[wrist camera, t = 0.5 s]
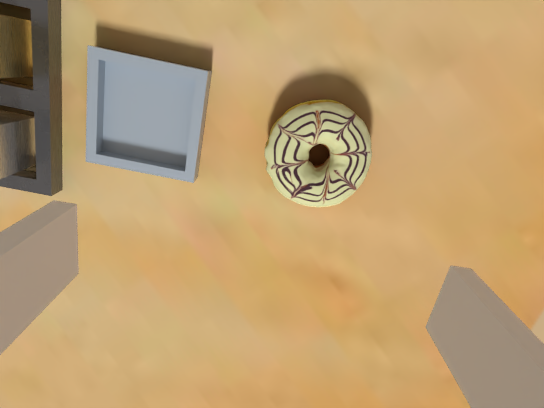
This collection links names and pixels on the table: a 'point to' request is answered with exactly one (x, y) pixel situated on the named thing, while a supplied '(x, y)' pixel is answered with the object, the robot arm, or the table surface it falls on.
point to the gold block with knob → (15, 47)
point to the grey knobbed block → (16, 142)
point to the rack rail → (40, 99)
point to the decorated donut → (307, 133)
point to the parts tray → (145, 113)
